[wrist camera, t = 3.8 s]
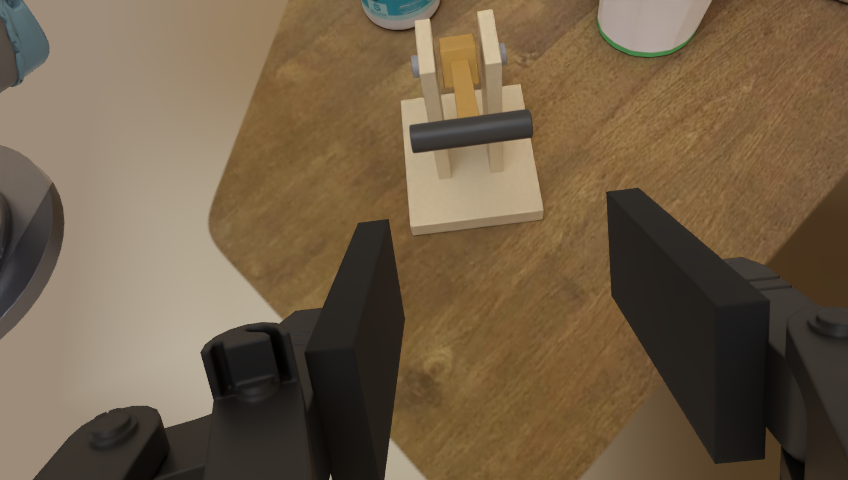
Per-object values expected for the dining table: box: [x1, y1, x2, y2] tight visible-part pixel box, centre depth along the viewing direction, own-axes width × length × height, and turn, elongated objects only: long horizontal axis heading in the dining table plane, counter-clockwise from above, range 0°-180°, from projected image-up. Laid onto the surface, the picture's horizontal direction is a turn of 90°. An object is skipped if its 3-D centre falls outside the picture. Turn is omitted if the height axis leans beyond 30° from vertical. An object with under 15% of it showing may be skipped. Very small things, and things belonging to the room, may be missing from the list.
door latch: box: [401, 9, 544, 235], centre depth 46 cm, size 12×10×14 cm
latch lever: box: [409, 34, 533, 153], centre depth 37 cm, size 13×6×2 cm, turn 5°
